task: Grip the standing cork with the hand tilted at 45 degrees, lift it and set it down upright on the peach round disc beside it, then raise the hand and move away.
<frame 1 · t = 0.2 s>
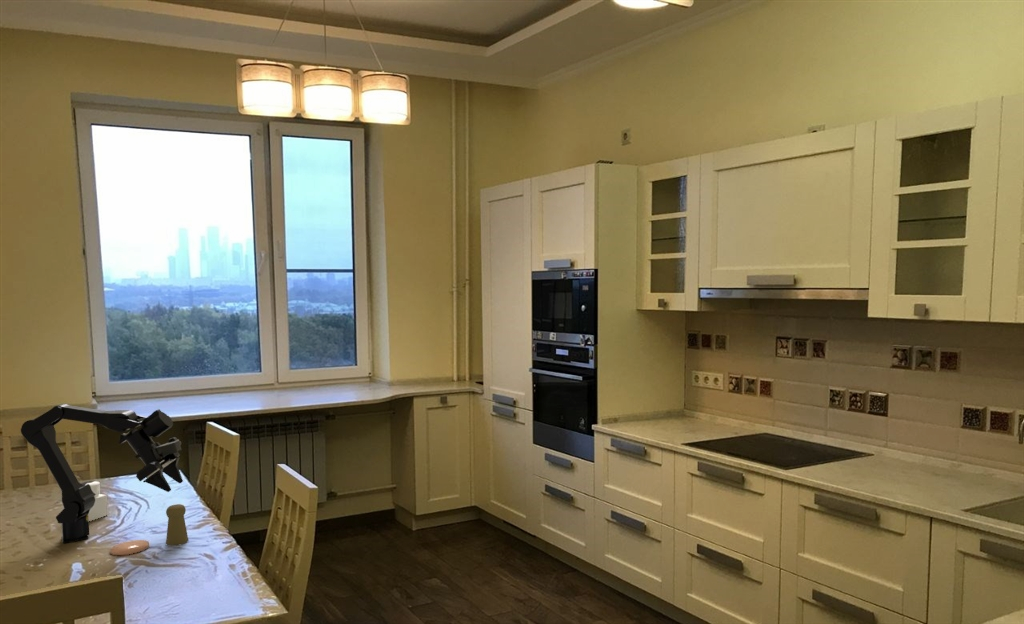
hand: (175, 486, 214), 14 cm above the table, tool tilted 35°, fingers open, 9 cm apart
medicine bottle: (90, 518, 231), on the table
cork: (177, 542, 207), on the table
peach round disc: (130, 548, 202), on the table
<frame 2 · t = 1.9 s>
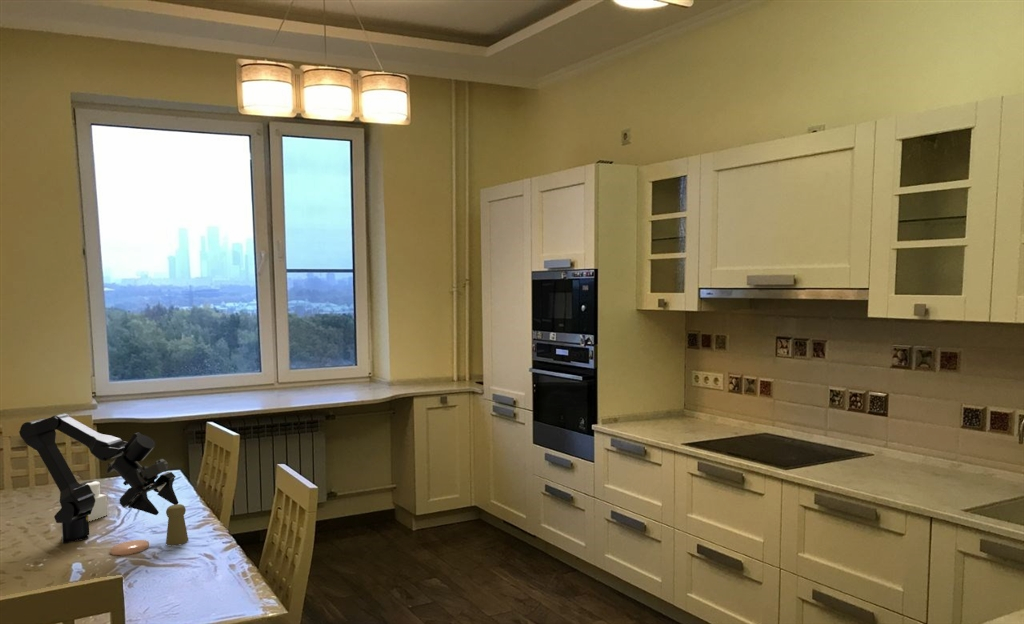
hand: (167, 508, 207), 10 cm above the table, tool tilted 45°, fingers open, 9 cm apart
nothing on the table moved.
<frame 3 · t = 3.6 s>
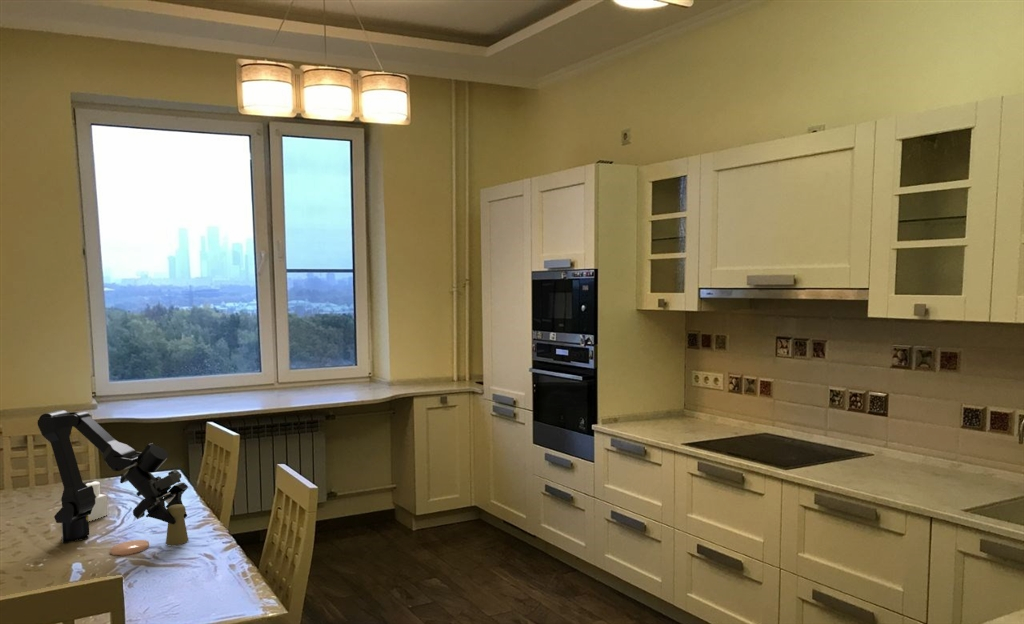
hand: (180, 520, 206), 7 cm above the table, tool tilted 45°, fingers closed on cork, 5 cm apart
cork: (177, 542, 207), on the table, touching gripper
everything else where it was.
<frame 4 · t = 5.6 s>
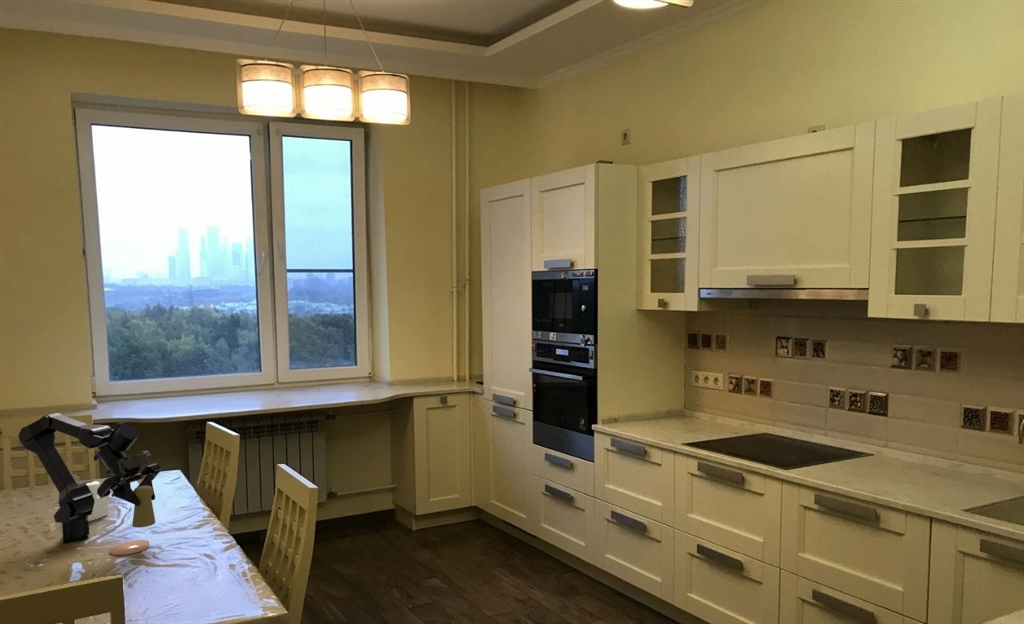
hand: (147, 502, 202), 13 cm above the table, tool tilted 45°, fingers closed on cork, 5 cm apart
cork: (143, 524, 203), point 7 cm above the table, touching gripper
everything else where it was.
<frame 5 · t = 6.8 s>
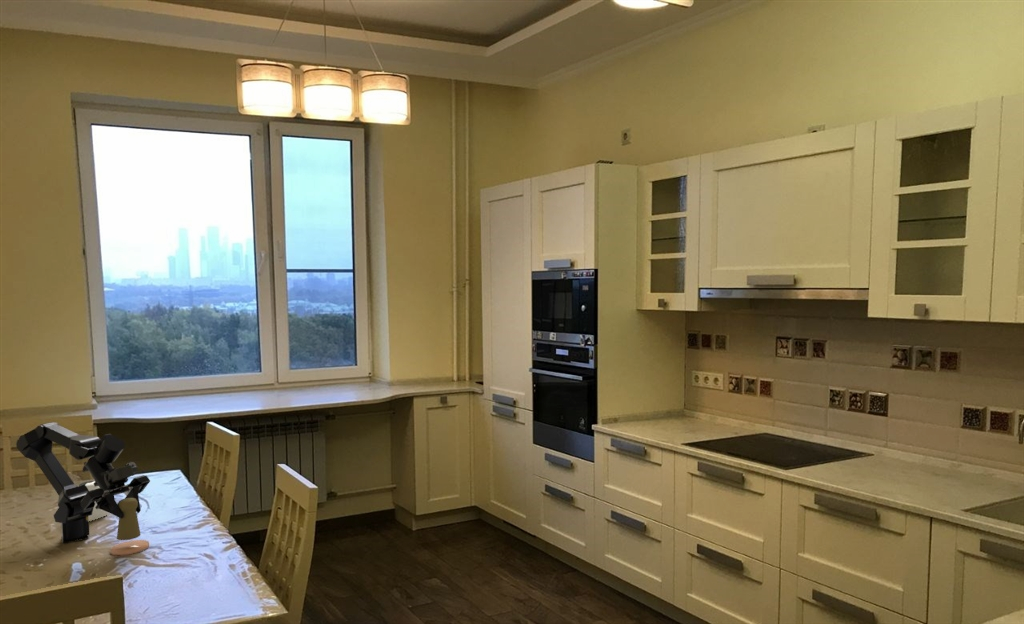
hand: (131, 514, 201), 10 cm above the table, tool tilted 45°, fingers closed on cork, 5 cm apart
cork: (128, 537, 202), point 3 cm above the table, touching gripper
everything else where it was.
when the fingers open (8 cm above the table, at t = 7.6 s): cork stays where it is, resting on peach round disc.
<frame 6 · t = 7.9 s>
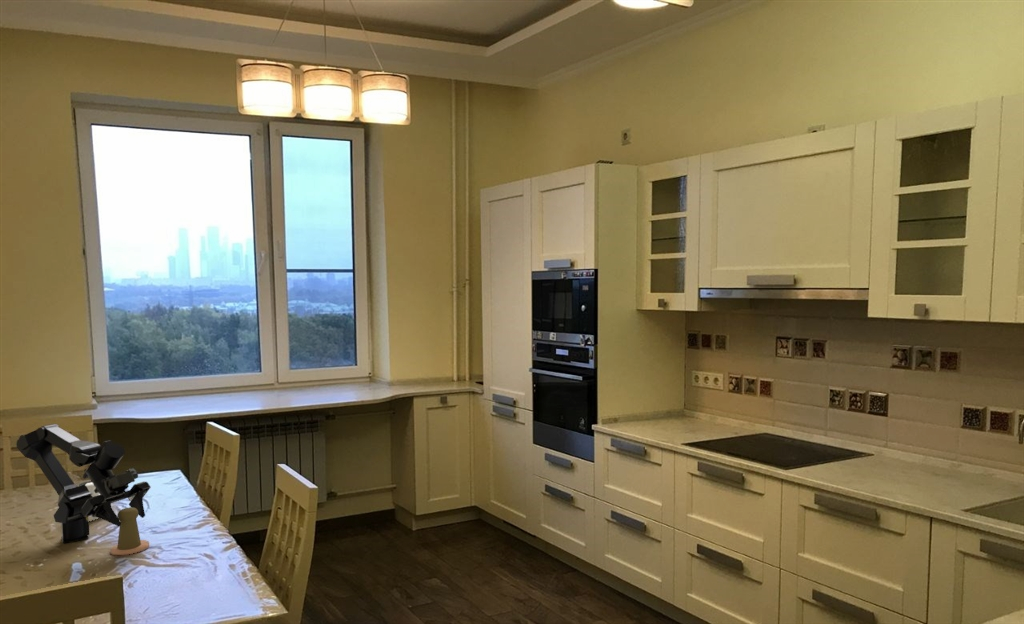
hand: (132, 521, 201), 8 cm above the table, tool tilted 45°, fingers open, 7 cm apart
cork: (129, 546, 202), point 1 cm above the table, touching peach round disc
everything else where it was.
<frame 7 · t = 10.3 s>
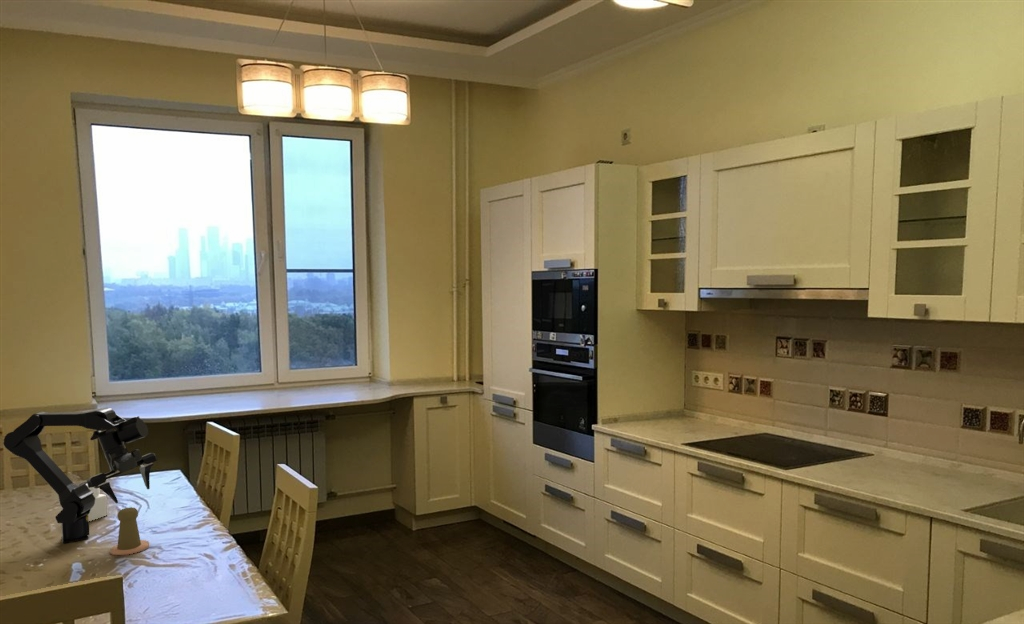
hand: (133, 496, 212), 12 cm above the table, tool tilted 20°, fingers open, 9 cm apart
nothing on the table moved.
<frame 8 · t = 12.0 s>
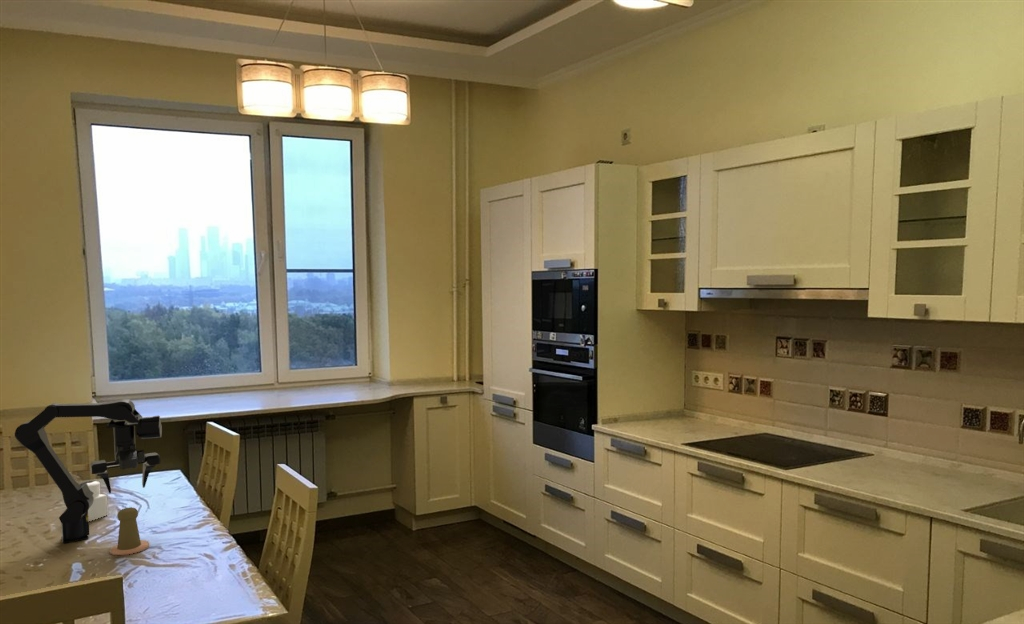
hand: (127, 490, 216), 13 cm above the table, tool pointing down, fingers open, 9 cm apart
nothing on the table moved.
at the end: cork 0.2 cm off-centre on the peach round disc, point 0.6 cm above the peach round disc's base; cork tilted 0°; the gripper is holding nothing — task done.
